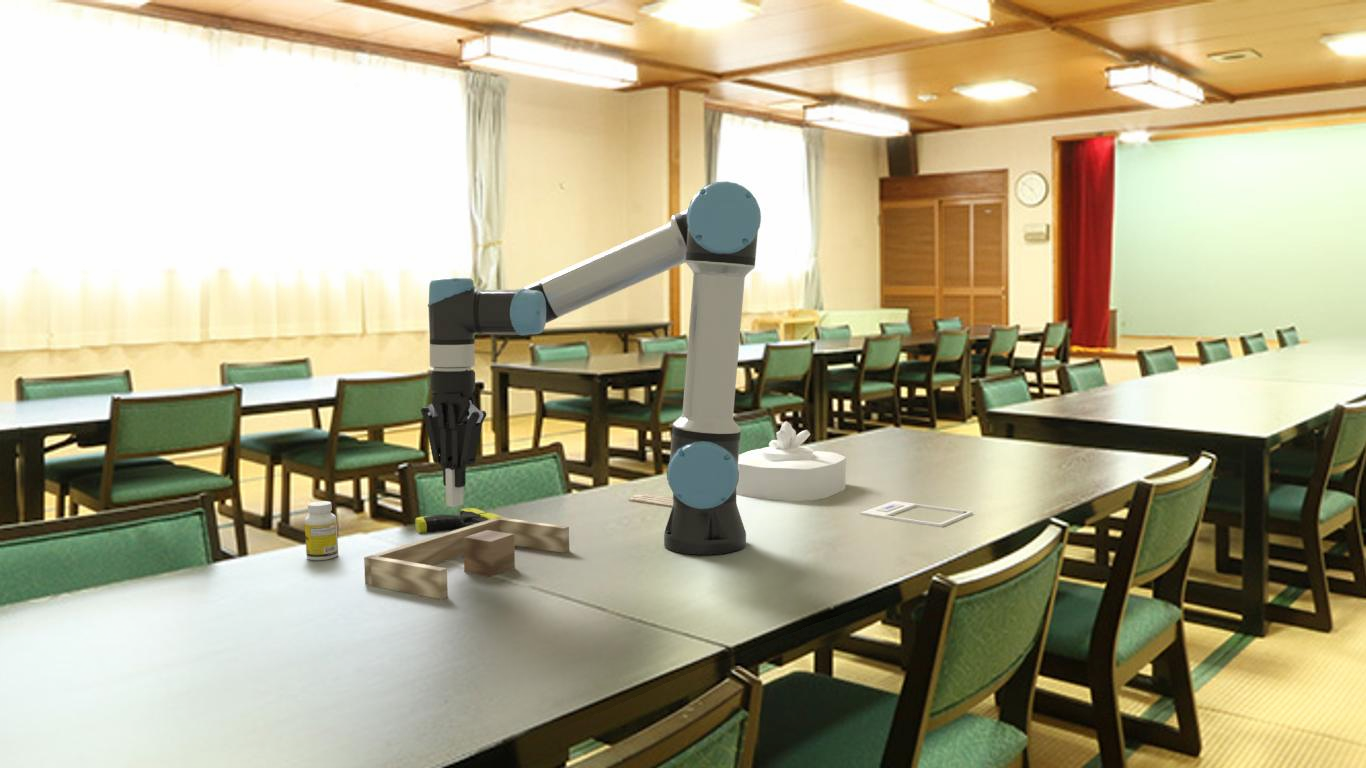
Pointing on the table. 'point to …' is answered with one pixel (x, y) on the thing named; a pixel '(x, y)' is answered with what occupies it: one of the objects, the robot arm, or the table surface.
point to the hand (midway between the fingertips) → (454, 505)
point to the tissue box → (790, 470)
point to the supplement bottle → (321, 531)
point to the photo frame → (897, 507)
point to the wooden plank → (652, 500)
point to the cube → (489, 553)
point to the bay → (451, 555)
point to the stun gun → (452, 520)
